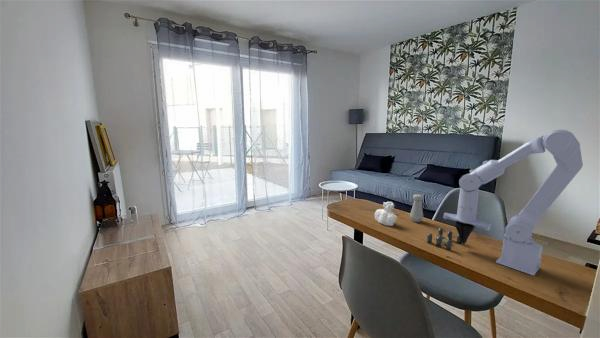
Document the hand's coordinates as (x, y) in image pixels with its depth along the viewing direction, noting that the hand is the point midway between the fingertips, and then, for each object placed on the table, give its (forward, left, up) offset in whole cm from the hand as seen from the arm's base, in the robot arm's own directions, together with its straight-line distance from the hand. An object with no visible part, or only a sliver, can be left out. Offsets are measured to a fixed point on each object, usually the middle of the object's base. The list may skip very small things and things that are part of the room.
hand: (463, 242), depth 92 cm
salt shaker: (+25, -14, -3) cm, 29 cm away
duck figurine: (+32, 0, -3) cm, 33 cm away
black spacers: (+6, 0, -3) cm, 7 cm away
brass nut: (+7, 0, -3) cm, 8 cm away
